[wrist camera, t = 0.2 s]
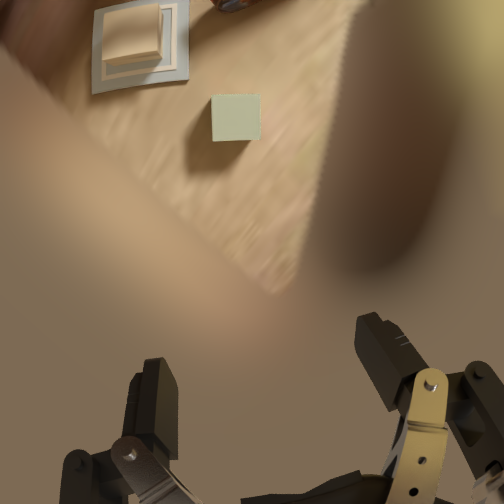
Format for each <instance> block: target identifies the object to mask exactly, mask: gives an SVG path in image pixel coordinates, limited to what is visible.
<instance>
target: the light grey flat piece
mask: <svg viewBox="0 0 504 504" xmlns="http://www.w3.org/2000/svg"><path fill="white" fill-rule="evenodd" d="M155 3H159V6H160V8H161V11H162V13H163V15H164V19H163V59H156V60H149V61H142V62H136V63H130V64H125V65H119V66H112V65H110V64H108V63H106V62H104V61H102V45H103V26H104V13H108V12H113V11H117V10H121V9H126V8H131V7H137V6H142V5H148V4H155ZM182 80H189V0H137V1H132V2H127V3H122V4H117V5H113V6H109V7H105V8H101V9H97V10H95V12H94V24H93V39H92V94H98V93H102V92H107V91H112V90H117V89H123V88H129V87H135V86H141V85H148V84H155V83H163V82H172V81H182Z"/></svg>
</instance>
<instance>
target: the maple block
mask: <svg viewBox="0 0 504 504" xmlns="http://www.w3.org/2000/svg"><path fill="white" fill-rule="evenodd" d="M163 19H164V15H163V13H162V11H161V8H160V6H159V3H155V4H148V5H142V6H137V7H131V8H126V9H121V10H117V11H113V12H108V13H104V26H103V45H102V61H104V62H106V63H108V64H110V65H112V66H119V65H125V64H130V63H136V62H142V61H149V60H156V59H163Z"/></svg>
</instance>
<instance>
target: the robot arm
mask: <svg viewBox="0 0 504 504" xmlns="http://www.w3.org/2000/svg"><path fill="white" fill-rule="evenodd" d="M354 345H355V350H356V353H357V355H358V357H359V359H360V361H361V363H362V364H363V366H364V368H365V370H366V371H367V373H368V375H369V377H370V379H371V380H372V382H373V384H374V386H375V387H376V389H377V391H378V393H379V395H380V397H381V398H382V400H383V402H384V404H385V406H386V408H387V409H388V411H389V412H391V411H393V410H395V409H398V411H399V413H400V415H399V418H398V422H397V426H396V430H395V434H394V437H393V441H392V444H391V448H390V451H389V455H388V457H387V459H386V461H385V464H384V466H383V469H382V471H381V475H373V474H364V475H361V473H360V471H359V470H357V471H354V472H352V473H348V474H346V475H343V476H339V477H336V478H333V479H330V480H329V481H327V482H325V483H323V484H321V485H320V486H318V487H316V488H314V489H312V490H310V491H308V492H306V493H303V494H268V495H262V496H256V497H249V498H243V499H241V504H453V503H451V502H447V501H445V500H442V499H439V498H437V497H435V496H436V491H437V488H438V484H439V480H440V475H441V471H442V466H443V461H444V456H445V450H446V444H447V438H448V430H447V429H446V428H444V423H445V422H447V423H448V425H449V427H450V429H451V431H452V432H453V434H454V436H455V438H456V440H457V442H458V444H459V446H460V448H461V450H462V452H463V454H464V456H465V458H466V460H467V462H468V464H469V467H470V469H471V471H472V473H473V475H474V477H475V479H476V482H475V483H474V485H473V489H472V499H473V501H474V502H473V504H504V385H503V383H502V382H501V381H500V379H499V378H498V377H497V375H496V374H495V372H494V371H493V369H492V368H491V367H490V366H489V365H488V364H487V363H485V362H482V361H474V362H471V363H470V364H468V366H467V367H466V369H465V371H464V372H458V373H453V374H444V373H443V372H442V371H440V370H438V369H435V368H429V366H428V365H427V364H426V362H425V361H424V360H423V359H422V357H421V356H420V354H419V353H418V352H417V351H416V349H415V348H414V346H413V345H412V344H411V343H410V342H409V340H408V338H407V337H406V336H404V333H403V332H402V331H401V329H400V328H399V327H398V326H397V325H395V324H394V323H392V322H391V321H389V320H387V321H382V320H381V318H380V317H379V316H378V314H377V313H376V312H372V313H369V314H365V315H362V316H359V317H357V322H356V332H355V341H354ZM128 394H129V395H128V398H127V404H126V410H125V417H124V424H123V431H122V436H121V438H119V439H118V440H116V441H115V442H114V444H113V445H112V448H111V449H109V450H107V451H104V452H100V453H96V454H93V455H90V454H89V453H87V452H86V451H84V450H80V449H77V450H73V451H71V452H70V453H69V454H68V455H67V456H66V458H65V460H64V463H63V470H62V479H61V488H60V501H59V504H128V495H130V494H133V493H136V495H137V496H138V497H139V499H140V502H139V503H140V504H204V503H203V502H201V501H200V500H199V499H198V498H197V497H196V496H195V495H194V494H193V493H192V492H191V491H190V490H189V489H188V488H187V487H186V486H185V485H184V484H183V483H182V482H181V481H180V480H179V479H178V477H177V476H176V475H175V474H174V473H173V472H172V471H171V470H170V466H169V460H178V387H177V383H176V380H175V378H174V376H173V374H172V372H171V370H170V368H169V367H168V364H167V362H166V360H165V359H164V358H163V357H161V358H154V359H146V360H145V362H144V367H143V372H141V373H136V374H135V376H134V377H133V379H132V380H131V382H130V386H129V392H128Z"/></svg>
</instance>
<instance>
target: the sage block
mask: <svg viewBox="0 0 504 504" xmlns="http://www.w3.org/2000/svg"><path fill="white" fill-rule="evenodd" d="M211 122H212V140H213V141H233V140H261V106H260V94H221V95H211Z"/></svg>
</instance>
